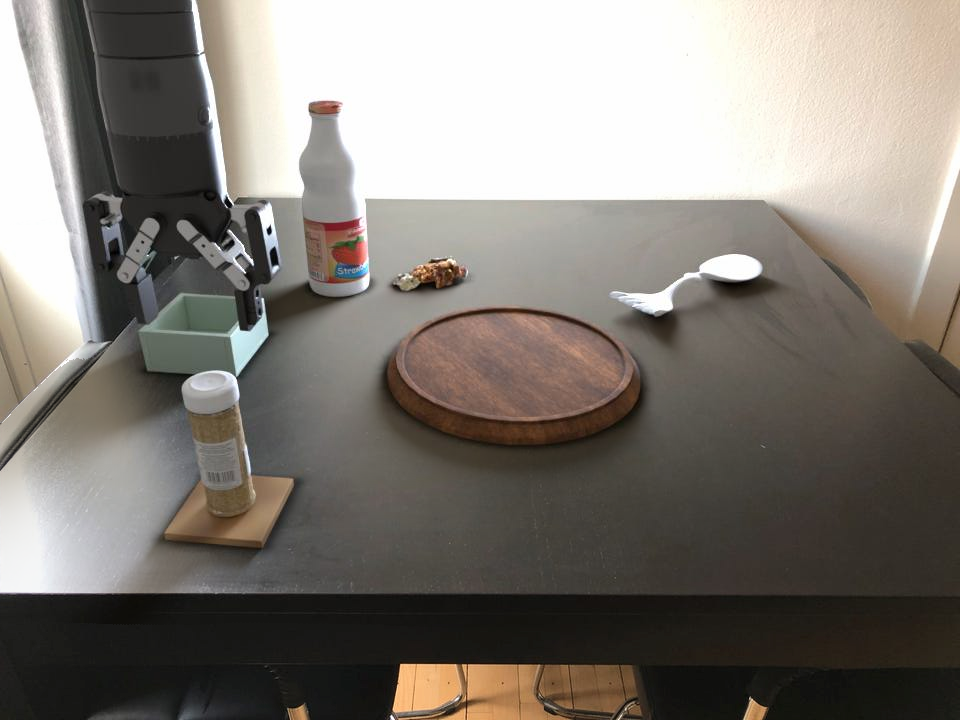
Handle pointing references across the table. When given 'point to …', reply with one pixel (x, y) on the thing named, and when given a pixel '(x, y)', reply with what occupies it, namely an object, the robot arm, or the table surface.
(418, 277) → the pastry
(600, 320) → the table surface
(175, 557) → the table surface
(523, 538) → the table surface
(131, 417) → the table surface
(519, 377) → the cutting board
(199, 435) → the sprinkles bottle
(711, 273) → the spoon
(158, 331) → the tub
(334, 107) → the fruit juice
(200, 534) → the plate
